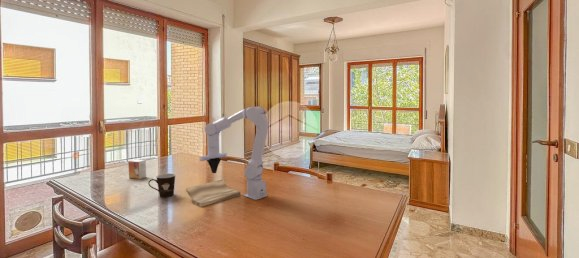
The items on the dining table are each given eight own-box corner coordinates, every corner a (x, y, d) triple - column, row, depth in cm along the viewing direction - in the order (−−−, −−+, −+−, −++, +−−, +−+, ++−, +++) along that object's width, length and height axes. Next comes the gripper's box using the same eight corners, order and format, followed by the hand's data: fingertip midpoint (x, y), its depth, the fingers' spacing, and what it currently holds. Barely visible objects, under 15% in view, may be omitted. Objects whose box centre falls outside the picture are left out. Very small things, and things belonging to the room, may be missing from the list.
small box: (128, 178, 178) (127, 161, 176) (136, 175, 183) (135, 159, 182) (139, 179, 175) (138, 161, 174) (146, 176, 181) (145, 160, 179)
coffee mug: (179, 192, 149) (178, 173, 148) (170, 198, 141) (169, 178, 140) (157, 192, 151) (156, 173, 150) (147, 197, 142) (146, 177, 141)
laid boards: (240, 195, 146) (240, 191, 146) (200, 206, 130) (200, 203, 130) (232, 192, 151) (232, 189, 150) (192, 203, 134) (192, 199, 134)
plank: (229, 191, 151) (229, 189, 150) (193, 201, 136) (194, 199, 135) (221, 181, 155) (221, 179, 154) (185, 190, 140) (186, 187, 140)
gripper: (220, 144, 157) (221, 169, 159) (196, 147, 147) (197, 174, 148) (228, 145, 152) (229, 171, 154) (203, 149, 142) (204, 176, 143)
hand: (214, 172), depth 151 cm, fingers closed
